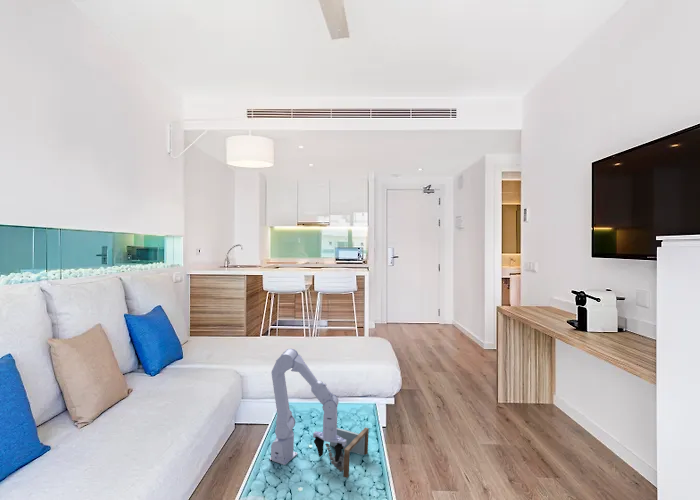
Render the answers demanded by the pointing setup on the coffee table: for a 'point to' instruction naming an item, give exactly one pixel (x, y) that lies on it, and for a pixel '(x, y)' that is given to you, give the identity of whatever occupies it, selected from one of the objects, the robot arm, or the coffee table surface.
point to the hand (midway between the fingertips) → (328, 458)
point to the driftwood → (340, 463)
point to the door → (349, 437)
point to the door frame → (350, 447)
